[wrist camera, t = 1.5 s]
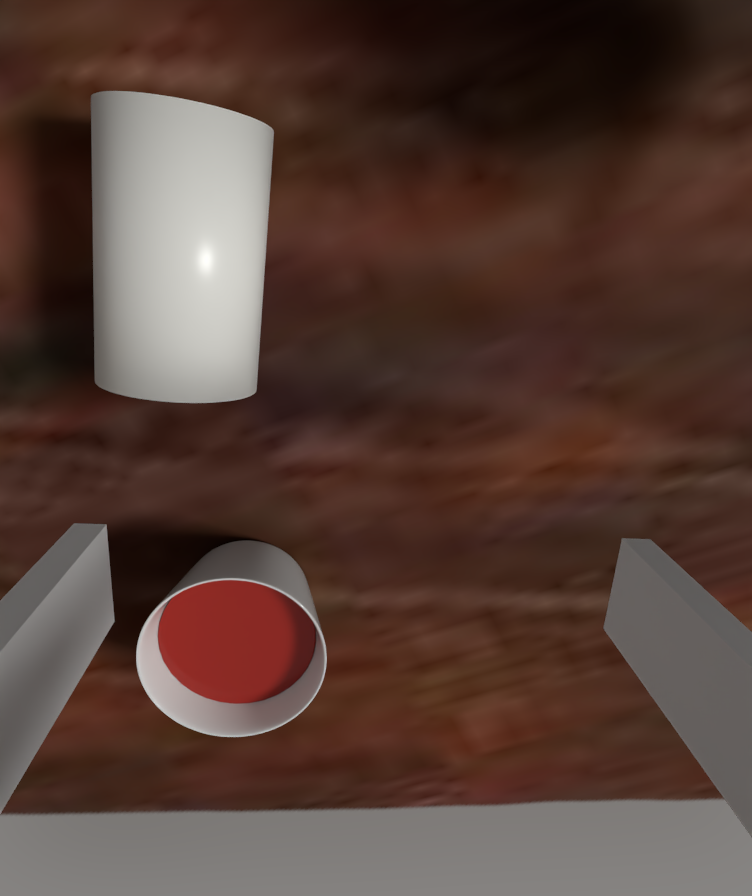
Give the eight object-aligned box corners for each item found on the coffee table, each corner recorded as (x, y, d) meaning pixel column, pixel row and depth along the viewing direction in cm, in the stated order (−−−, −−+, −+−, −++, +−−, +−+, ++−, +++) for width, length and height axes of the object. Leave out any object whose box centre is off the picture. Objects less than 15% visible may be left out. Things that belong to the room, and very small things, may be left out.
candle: (334, 647, 36) (336, 724, 30) (185, 665, 36) (156, 747, 30) (317, 512, 34) (314, 567, 28) (155, 530, 33) (116, 590, 27)
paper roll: (127, 118, 27) (57, 73, 21) (282, 140, 28) (262, 103, 21) (126, 366, 31) (66, 396, 24) (265, 381, 31) (243, 414, 25)
